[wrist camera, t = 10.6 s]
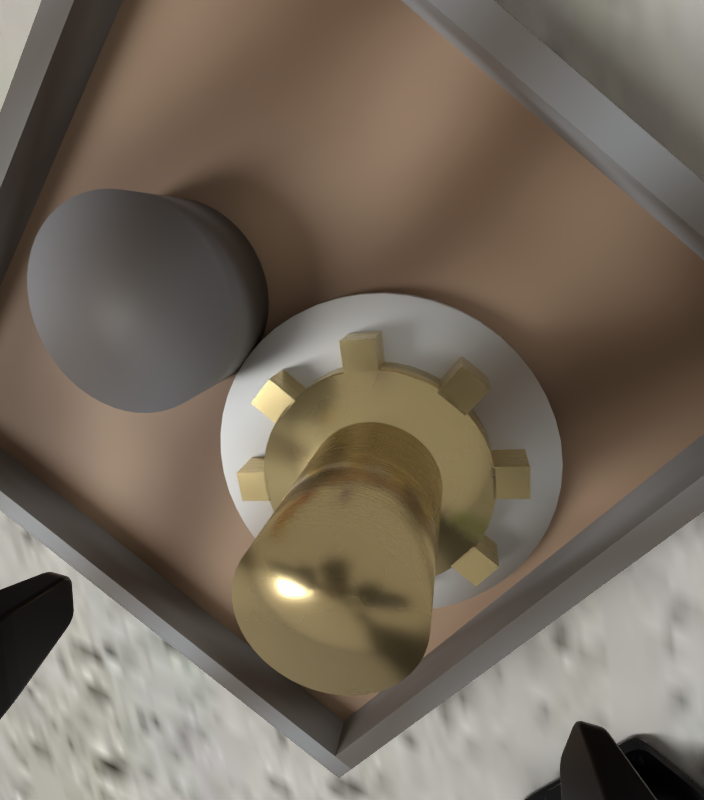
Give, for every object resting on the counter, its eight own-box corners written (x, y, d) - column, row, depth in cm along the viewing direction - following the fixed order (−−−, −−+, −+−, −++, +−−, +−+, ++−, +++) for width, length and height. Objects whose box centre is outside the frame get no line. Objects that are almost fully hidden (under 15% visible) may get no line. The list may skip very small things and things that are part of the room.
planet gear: (591, 463, 14) (687, 632, 8) (399, 627, 18) (364, 839, 11) (357, 268, 14) (273, 291, 8) (206, 471, 17) (62, 601, 11)
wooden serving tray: (821, 335, 14) (972, 376, 10) (354, 710, 22) (329, 820, 18) (216, -186, 13) (104, -378, 9) (-39, 396, 21) (-160, 435, 17)
